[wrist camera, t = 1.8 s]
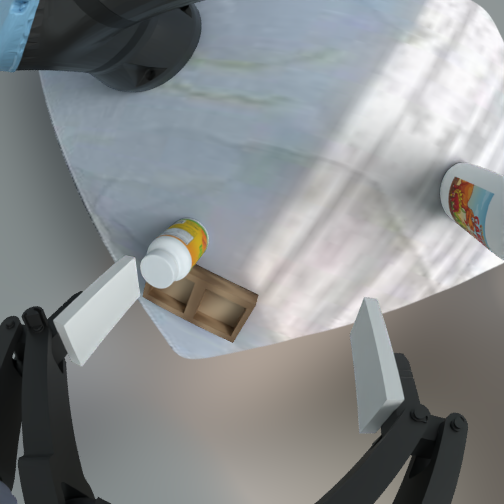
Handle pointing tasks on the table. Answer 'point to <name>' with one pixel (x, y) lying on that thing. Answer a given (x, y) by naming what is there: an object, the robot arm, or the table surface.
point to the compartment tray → (206, 302)
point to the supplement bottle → (174, 253)
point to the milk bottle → (476, 203)
